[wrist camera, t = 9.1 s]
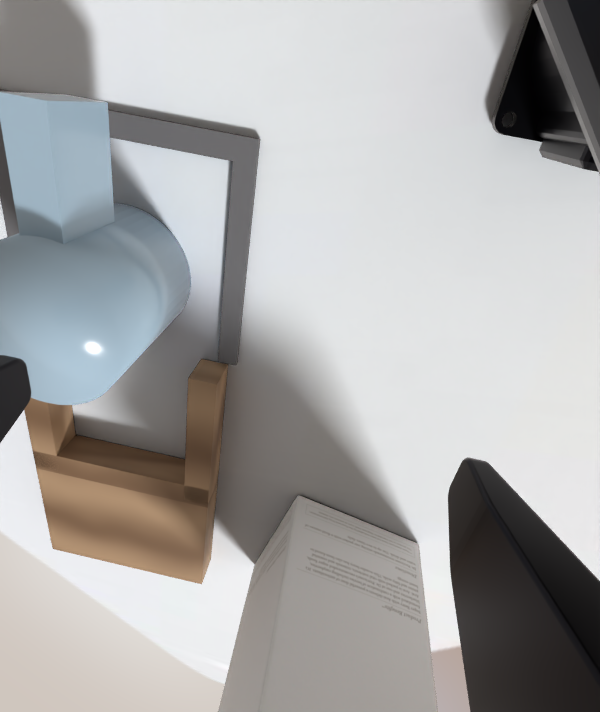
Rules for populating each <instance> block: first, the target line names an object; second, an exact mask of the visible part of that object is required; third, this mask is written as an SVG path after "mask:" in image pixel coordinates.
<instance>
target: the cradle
mask: <svg viewBox="0 0 600 712" xmlns="http://www.w3.org/2000/svg"><path fill="white" fill-rule="evenodd" d="M227 371H228V364H223V363H219V362H214V361H210V360H205V359H201V360H200V362H199V363H198V365H197V366H196V367H195V369H194V370H193V372H192V373H191V375H190V376H189V378H188V397H187V426H186V455H185V459H181V458H177V457H172V456H168V455H164V454H159V453H155V452H150V451H146V450H141V449H137V448H133V447H128V446H124V445H119V444H115V443H110V442H106V441H102V440H97V439H93V438H88V437H84V436H79V435H76V433H75V426H74V418H73V411H72V405H57V404H52V403H47V402H43V401H39V400H36V399H34V398H30V401H29V403H28V405H27V406H26V407H25V409H24V410H25V415H26V420H27V425H28V430H29V435H30V439H31V444H32V449H33V454H34V459H35V464H36V469H37V474H38V479H39V484H40V488H41V493H42V498H43V503H44V508H45V513H46V518H47V523H48V528H49V532H50V537H51V542H52V547H53V549H56V550H60V551H65V552H69V553H73V554H77V555H81V556H86V557H90V558H94V559H98V560H102V561H107V562H111V563H115V564H119V565H123V566H128V567H132V568H136V569H140V570H144V571H149V572H153V573H157V574H161V575H165V576H170V577H174V578H178V579H182V580H186V581H191V582H195V583H199V584H202V582H203V579H204V576H205V574H206V571H207V568H208V565H209V562H210V560H211V550H212V539H213V528H214V517H215V506H216V494H217V483H218V472H219V461H220V450H221V438H222V427H223V416H224V405H225V394H226V382H227Z"/></svg>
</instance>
